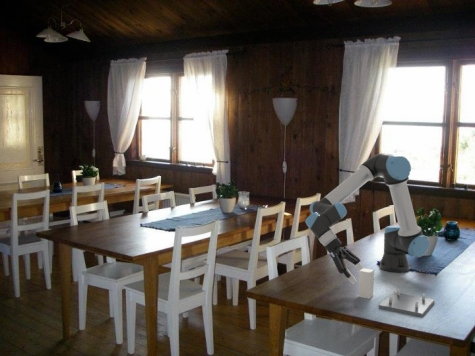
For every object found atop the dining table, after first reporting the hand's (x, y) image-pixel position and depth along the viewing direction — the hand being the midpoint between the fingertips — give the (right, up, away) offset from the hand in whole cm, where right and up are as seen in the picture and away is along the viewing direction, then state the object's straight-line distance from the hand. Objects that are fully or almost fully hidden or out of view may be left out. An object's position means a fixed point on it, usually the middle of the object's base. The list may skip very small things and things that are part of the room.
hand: (360, 279), depth 244 cm
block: (+2, -8, 0) cm, 8 cm away
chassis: (+17, -9, -12) cm, 23 cm away
